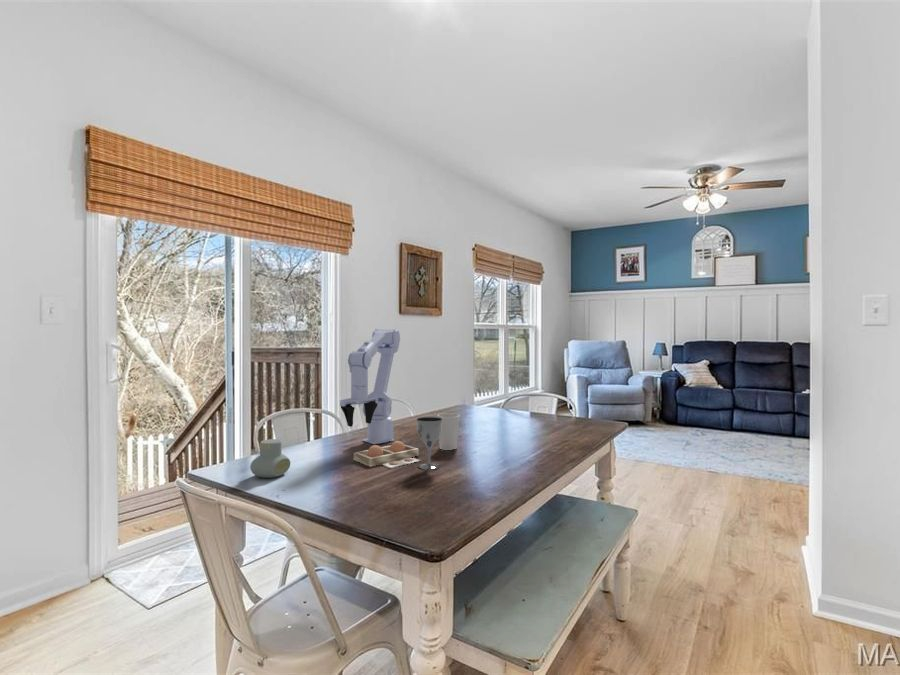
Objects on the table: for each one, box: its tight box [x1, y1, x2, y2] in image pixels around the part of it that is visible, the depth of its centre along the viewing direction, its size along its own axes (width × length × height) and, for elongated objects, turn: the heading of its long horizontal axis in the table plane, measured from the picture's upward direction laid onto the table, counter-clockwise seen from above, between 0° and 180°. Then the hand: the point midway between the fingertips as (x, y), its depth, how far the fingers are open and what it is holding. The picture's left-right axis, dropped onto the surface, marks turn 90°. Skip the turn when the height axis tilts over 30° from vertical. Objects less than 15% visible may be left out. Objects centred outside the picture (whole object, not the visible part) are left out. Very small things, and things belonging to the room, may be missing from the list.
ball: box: [390, 440, 406, 453], centre depth 160 cm, size 5×5×5 cm
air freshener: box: [249, 438, 291, 479], centre depth 138 cm, size 11×8×10 cm
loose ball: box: [367, 444, 383, 458], centre depth 154 cm, size 5×5×5 cm
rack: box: [353, 444, 422, 469], centre depth 155 cm, size 19×16×2 cm
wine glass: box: [416, 416, 442, 470], centre depth 148 cm, size 8×8×15 cm
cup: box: [436, 412, 461, 450], centre depth 171 cm, size 8×8×12 cm
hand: (359, 424), depth 166 cm, fingers open, 7 cm apart
